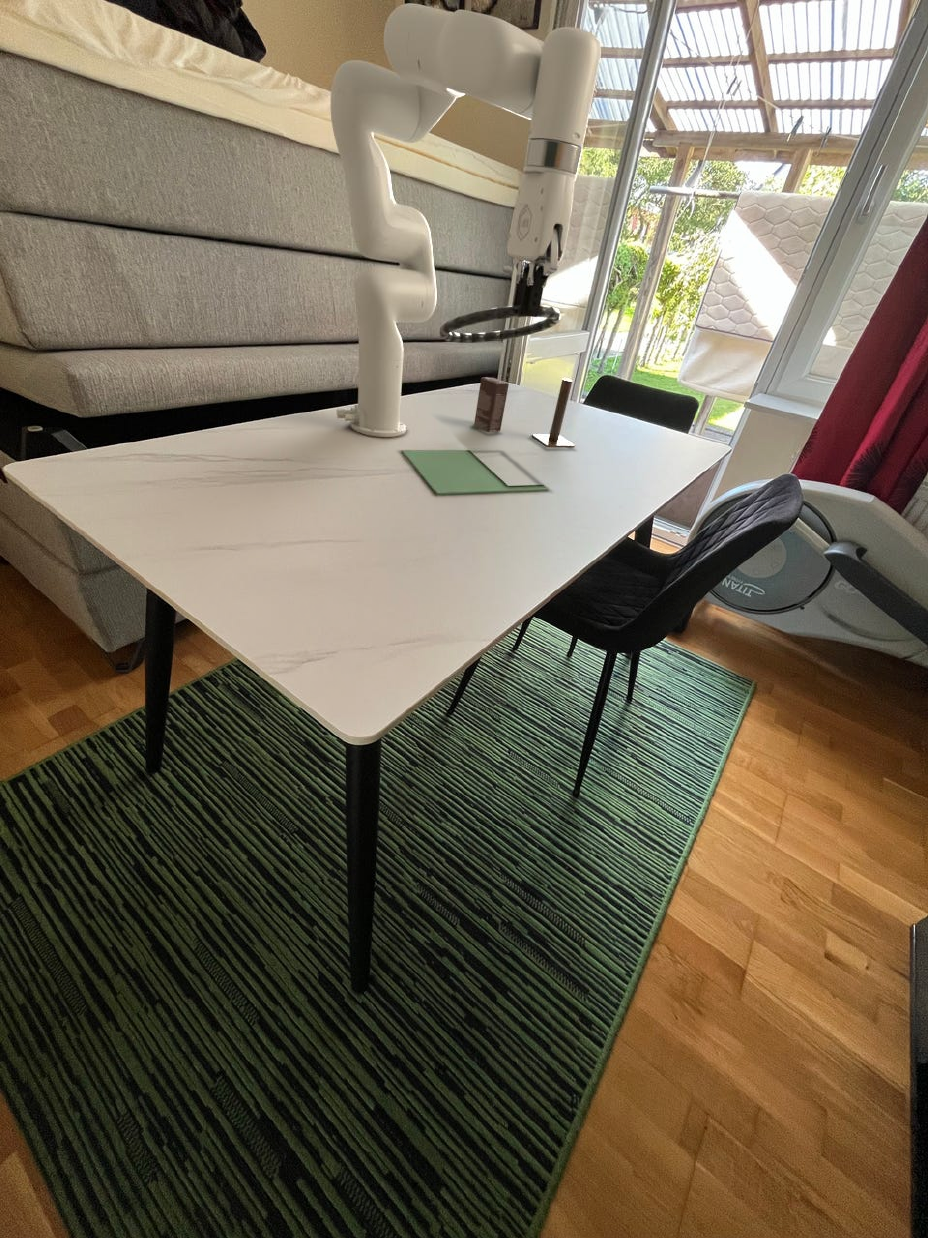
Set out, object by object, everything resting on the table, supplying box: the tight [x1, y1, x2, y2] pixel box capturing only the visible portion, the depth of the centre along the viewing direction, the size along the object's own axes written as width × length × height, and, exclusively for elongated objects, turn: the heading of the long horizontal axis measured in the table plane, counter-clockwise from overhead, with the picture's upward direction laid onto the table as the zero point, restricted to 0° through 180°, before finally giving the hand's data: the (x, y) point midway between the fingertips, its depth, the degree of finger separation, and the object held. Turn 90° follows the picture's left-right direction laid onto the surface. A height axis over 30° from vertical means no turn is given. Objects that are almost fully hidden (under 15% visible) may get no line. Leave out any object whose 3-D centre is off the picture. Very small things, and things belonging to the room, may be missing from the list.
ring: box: [438, 304, 562, 344], centre depth 91 cm, size 21×21×2 cm
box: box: [473, 377, 510, 433], centre depth 128 cm, size 6×4×12 cm
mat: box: [401, 449, 549, 496], centre depth 107 cm, size 24×22×1 cm
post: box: [531, 378, 576, 448], centre depth 125 cm, size 8×8×15 cm
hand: (525, 313), depth 82 cm, fingers closed on ring, 1 cm apart
